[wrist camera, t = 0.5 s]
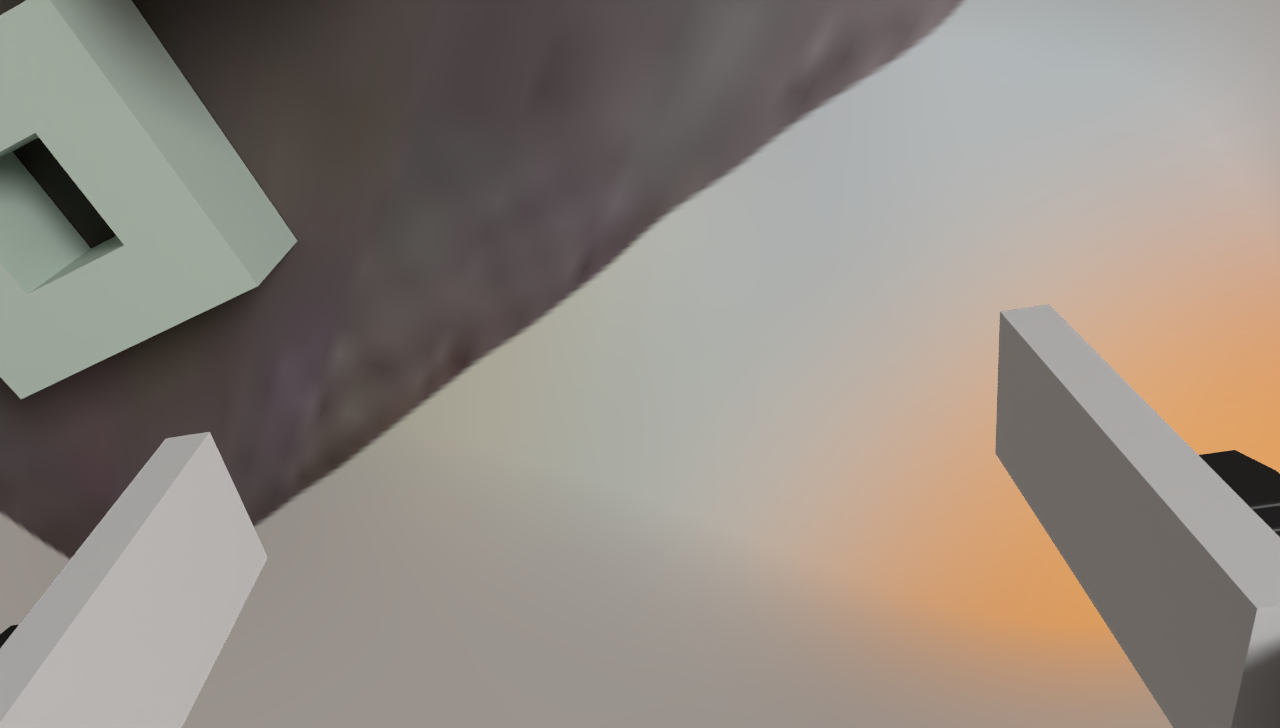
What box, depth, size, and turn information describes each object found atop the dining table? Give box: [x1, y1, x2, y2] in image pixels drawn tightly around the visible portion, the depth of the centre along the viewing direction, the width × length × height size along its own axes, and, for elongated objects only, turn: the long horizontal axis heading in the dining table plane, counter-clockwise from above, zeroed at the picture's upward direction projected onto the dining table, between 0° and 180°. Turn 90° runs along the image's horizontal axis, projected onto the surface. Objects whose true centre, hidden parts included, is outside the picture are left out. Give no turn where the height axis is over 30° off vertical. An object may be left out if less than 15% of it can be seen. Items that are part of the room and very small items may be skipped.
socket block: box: [0, 0, 297, 399], centre depth 37 cm, size 12×12×5 cm
